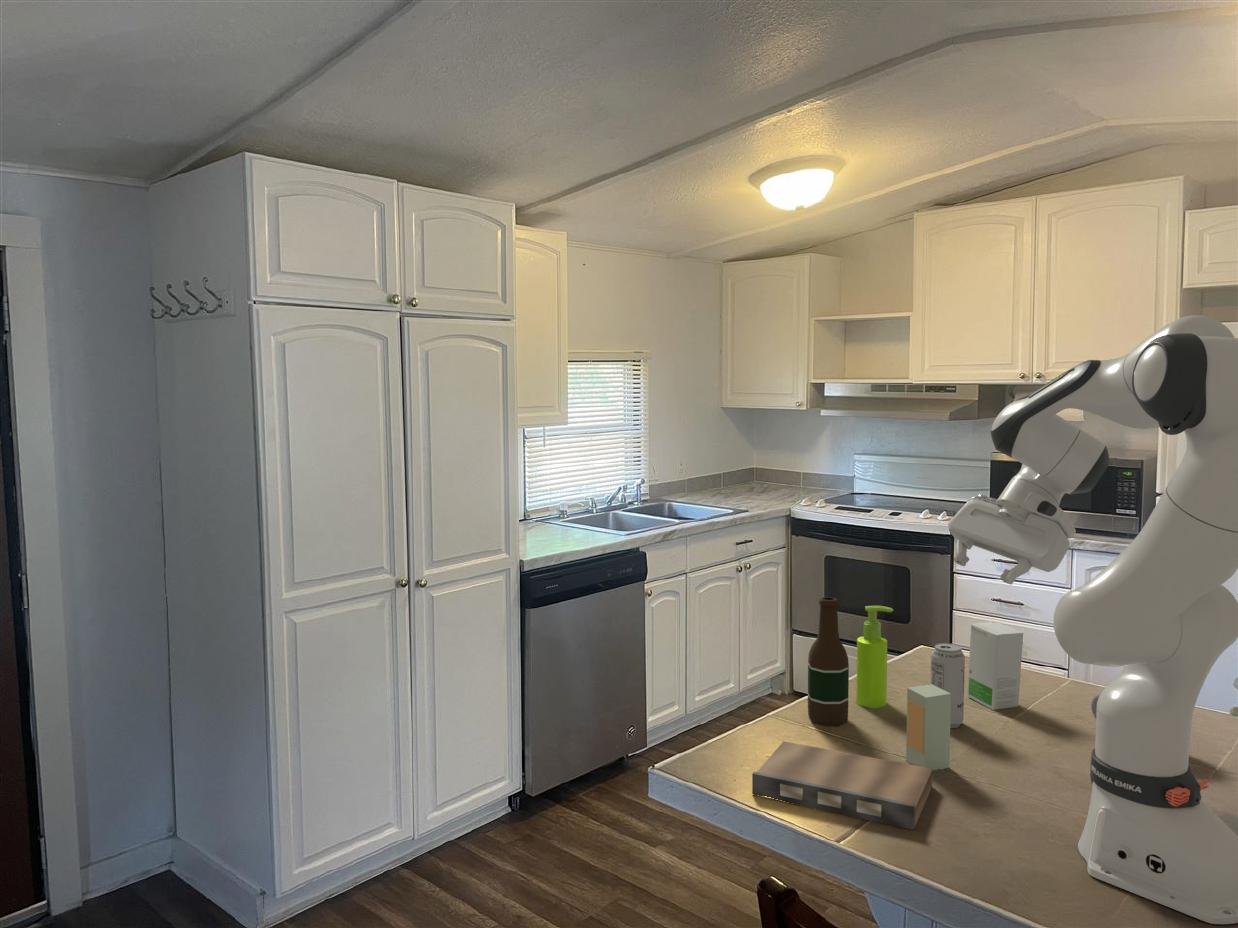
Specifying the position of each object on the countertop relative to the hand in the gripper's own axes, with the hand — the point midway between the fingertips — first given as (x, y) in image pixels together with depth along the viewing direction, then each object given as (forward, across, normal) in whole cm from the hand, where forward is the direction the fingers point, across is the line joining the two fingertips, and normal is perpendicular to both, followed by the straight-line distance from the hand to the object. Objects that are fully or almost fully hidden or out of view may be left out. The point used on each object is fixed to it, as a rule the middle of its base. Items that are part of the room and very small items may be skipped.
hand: (981, 572), depth 155 cm
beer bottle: (+34, -22, +17) cm, 44 cm away
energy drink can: (+21, -8, +29) cm, 37 cm away
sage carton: (+31, +2, +15) cm, 34 cm away
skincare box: (+10, -11, +42) cm, 45 cm away
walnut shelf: (+43, +1, 0) cm, 43 cm away
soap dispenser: (+25, -23, +28) cm, 44 cm away
